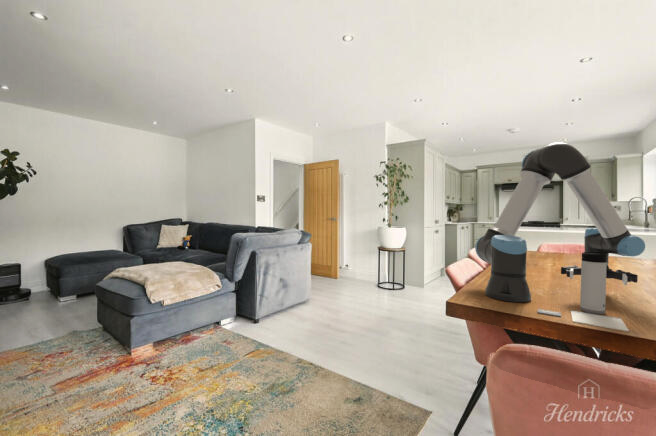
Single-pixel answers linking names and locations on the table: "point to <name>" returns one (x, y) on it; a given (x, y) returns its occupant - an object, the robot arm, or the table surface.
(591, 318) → the notepad
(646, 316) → the table surface
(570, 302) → the table surface
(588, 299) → the travel mug
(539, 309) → the plate
